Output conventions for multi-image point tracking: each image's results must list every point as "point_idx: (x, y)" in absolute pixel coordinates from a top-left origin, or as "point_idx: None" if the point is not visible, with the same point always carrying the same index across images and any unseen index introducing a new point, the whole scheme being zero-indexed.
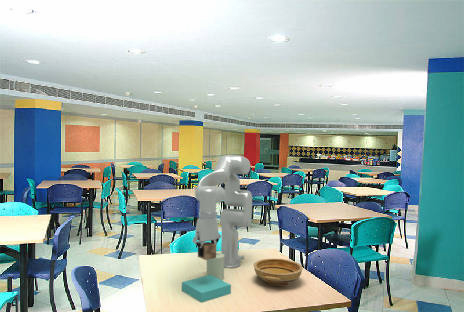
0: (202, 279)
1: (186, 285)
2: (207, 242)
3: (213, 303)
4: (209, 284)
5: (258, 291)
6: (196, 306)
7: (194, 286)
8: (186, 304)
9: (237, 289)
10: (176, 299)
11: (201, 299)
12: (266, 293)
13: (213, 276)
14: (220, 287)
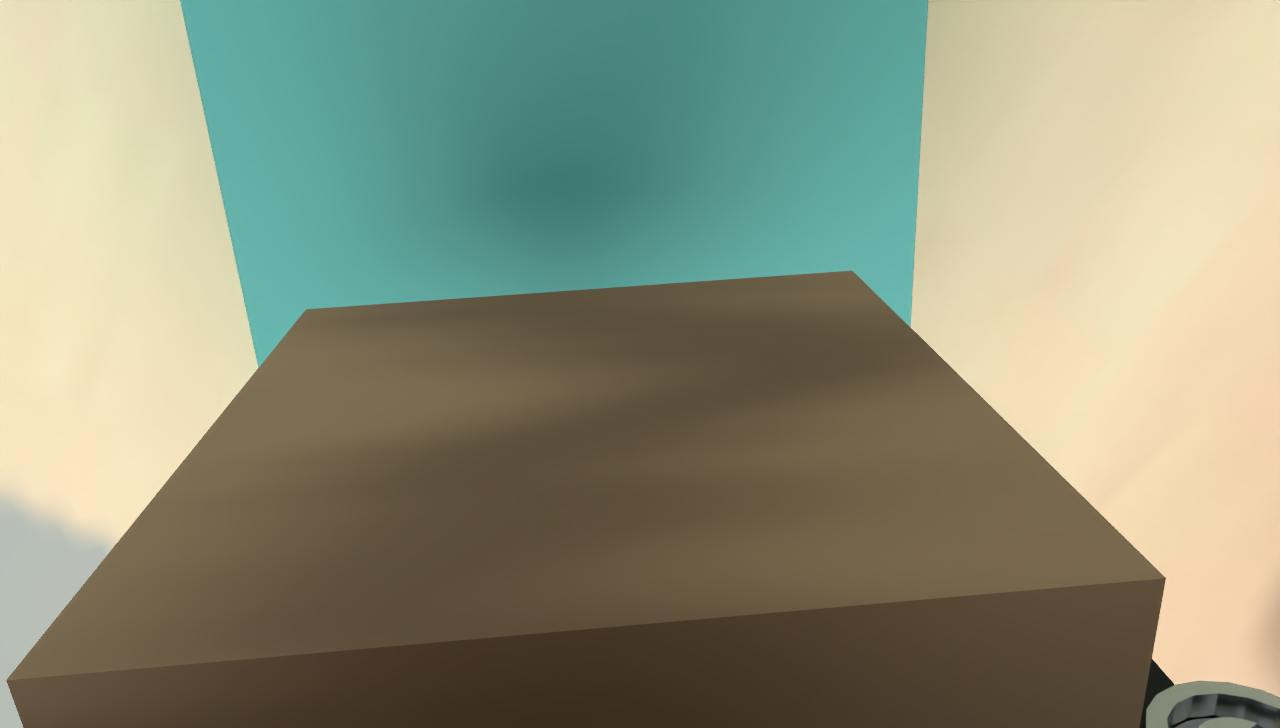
0: (627, 34)
1: (208, 100)
2: (930, 711)
3: None
4: None
5: (1195, 582)
6: None
7: (308, 279)
8: (109, 450)
9: (1036, 390)
10: (13, 221)
11: None
12: (1214, 671)
13: (919, 11)
14: None
